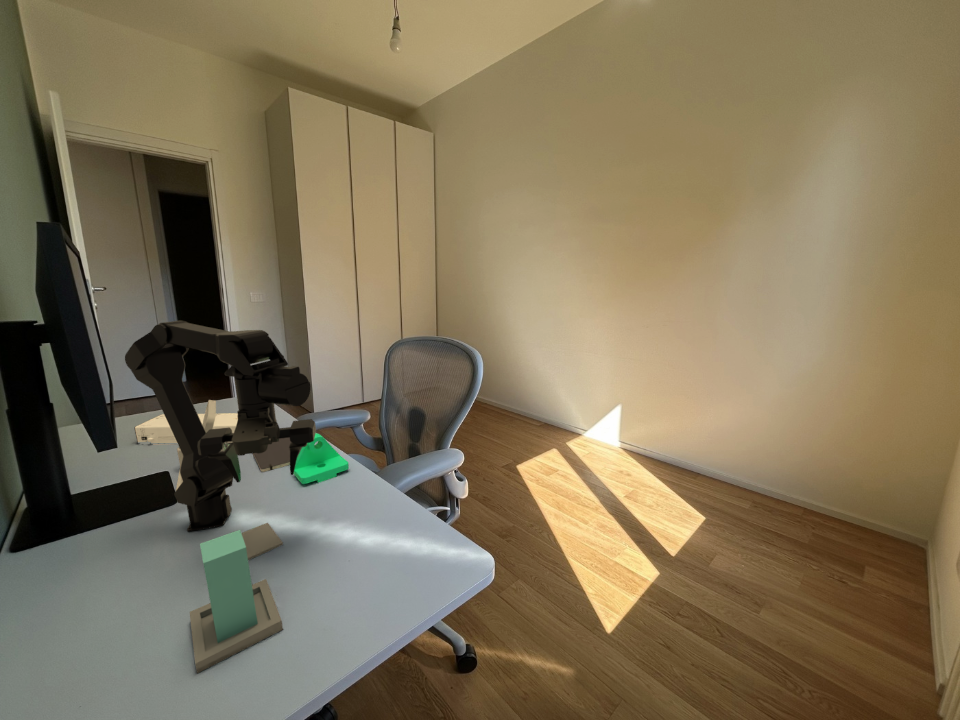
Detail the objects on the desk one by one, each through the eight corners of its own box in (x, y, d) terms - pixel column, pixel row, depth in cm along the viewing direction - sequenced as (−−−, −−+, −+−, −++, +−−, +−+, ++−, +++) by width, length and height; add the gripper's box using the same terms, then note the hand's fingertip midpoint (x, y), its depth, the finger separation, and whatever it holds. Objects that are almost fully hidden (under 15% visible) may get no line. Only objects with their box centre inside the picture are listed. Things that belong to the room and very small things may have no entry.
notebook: (312, 460, 112) (293, 436, 128) (311, 455, 111) (292, 432, 128) (261, 474, 104) (248, 447, 121) (260, 469, 104) (248, 442, 120)
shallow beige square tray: (191, 620, 60) (189, 611, 60) (267, 586, 66) (266, 578, 66) (197, 673, 52) (195, 663, 52) (282, 629, 58) (281, 620, 58)
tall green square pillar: (213, 619, 59) (199, 543, 57) (251, 602, 62) (240, 529, 60) (217, 643, 56) (203, 563, 53) (257, 623, 59) (245, 547, 56)
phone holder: (180, 466, 108) (169, 403, 104) (224, 457, 113) (215, 397, 109) (175, 496, 93) (162, 424, 89) (226, 483, 99) (215, 415, 95)
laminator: (268, 429, 133) (265, 412, 132) (248, 445, 121) (245, 426, 120) (165, 431, 132) (161, 414, 131) (134, 447, 120) (130, 428, 119)
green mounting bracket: (303, 488, 97) (298, 449, 94) (293, 477, 102) (288, 439, 100) (350, 472, 104) (347, 436, 102) (338, 462, 110) (335, 427, 108)
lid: (230, 571, 71) (229, 566, 70) (218, 547, 77) (217, 542, 77) (283, 547, 77) (282, 542, 76) (268, 526, 83) (267, 522, 83)
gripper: (177, 421, 62) (193, 509, 66) (305, 408, 68) (314, 491, 71) (202, 399, 73) (215, 477, 76) (312, 390, 78) (319, 463, 81)
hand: (266, 477), depth 76 cm, fingers open, 9 cm apart
